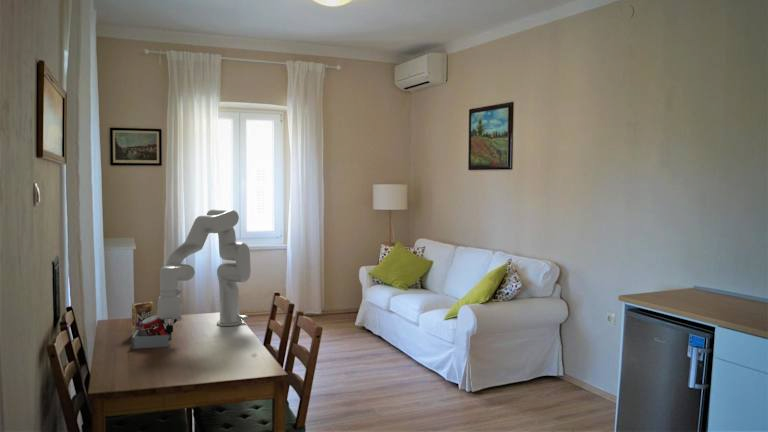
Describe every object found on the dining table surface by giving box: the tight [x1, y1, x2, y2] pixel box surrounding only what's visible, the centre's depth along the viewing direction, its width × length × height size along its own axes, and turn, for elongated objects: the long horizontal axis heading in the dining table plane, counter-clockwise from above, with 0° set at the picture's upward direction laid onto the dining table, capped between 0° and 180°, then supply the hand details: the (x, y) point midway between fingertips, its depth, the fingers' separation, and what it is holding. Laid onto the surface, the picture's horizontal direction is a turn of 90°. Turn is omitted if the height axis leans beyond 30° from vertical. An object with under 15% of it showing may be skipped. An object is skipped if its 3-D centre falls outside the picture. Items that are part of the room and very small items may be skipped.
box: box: [131, 327, 173, 350], centre depth 265 cm, size 15×15×5 cm
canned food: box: [142, 314, 167, 336], centre depth 264 cm, size 8×8×11 cm
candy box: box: [131, 301, 154, 336], centre depth 281 cm, size 9×4×15 cm, turn 134°
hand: (169, 333), depth 266 cm, fingers closed
